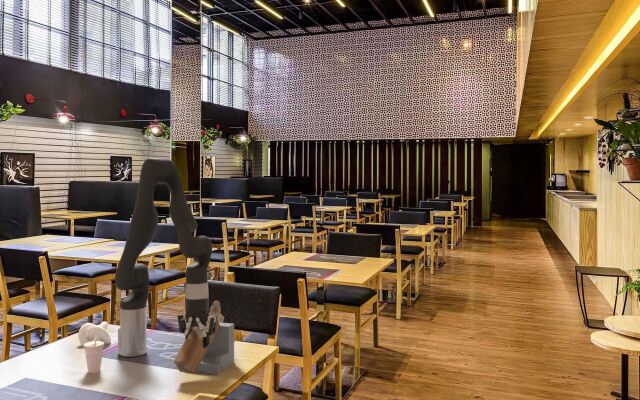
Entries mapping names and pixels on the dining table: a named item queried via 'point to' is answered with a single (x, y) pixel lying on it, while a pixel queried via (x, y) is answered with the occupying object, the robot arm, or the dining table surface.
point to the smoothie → (94, 354)
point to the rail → (193, 350)
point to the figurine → (217, 311)
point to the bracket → (219, 351)
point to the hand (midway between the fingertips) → (197, 346)
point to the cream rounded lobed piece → (89, 337)
